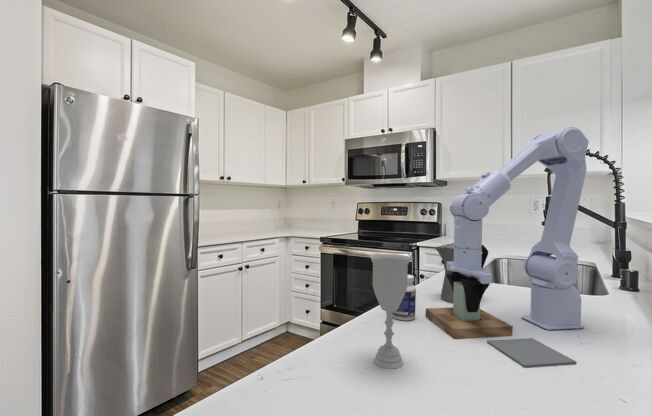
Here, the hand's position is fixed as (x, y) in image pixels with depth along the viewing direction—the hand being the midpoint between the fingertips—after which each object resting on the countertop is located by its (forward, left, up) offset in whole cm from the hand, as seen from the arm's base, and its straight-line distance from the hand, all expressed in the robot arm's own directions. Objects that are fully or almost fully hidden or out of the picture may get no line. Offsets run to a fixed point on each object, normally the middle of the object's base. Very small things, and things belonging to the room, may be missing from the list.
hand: (466, 308), depth 75 cm
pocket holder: (0, 0, -4) cm, 4 cm away
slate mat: (-4, +14, -4) cm, 15 cm away
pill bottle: (+12, -7, -4) cm, 14 cm away
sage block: (0, 0, -3) cm, 3 cm away
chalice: (+23, +14, -4) cm, 27 cm away
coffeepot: (-10, -19, -4) cm, 22 cm away
